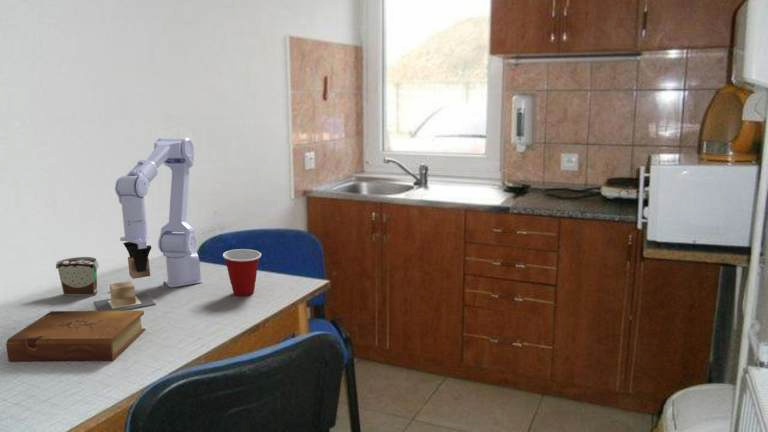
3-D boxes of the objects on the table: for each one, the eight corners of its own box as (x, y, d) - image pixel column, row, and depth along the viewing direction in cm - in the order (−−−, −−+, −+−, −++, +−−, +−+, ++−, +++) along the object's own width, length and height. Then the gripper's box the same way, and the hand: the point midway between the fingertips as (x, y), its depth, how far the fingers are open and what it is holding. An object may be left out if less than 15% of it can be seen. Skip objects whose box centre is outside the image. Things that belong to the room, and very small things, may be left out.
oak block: (132, 297, 181) (130, 280, 180) (135, 303, 176) (134, 285, 175) (111, 301, 178) (109, 284, 177) (114, 307, 173) (112, 289, 172)
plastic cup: (250, 301, 178) (247, 259, 175) (217, 296, 182) (214, 256, 179) (270, 289, 188) (268, 249, 185) (239, 285, 192) (237, 247, 189)
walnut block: (146, 272, 176) (145, 254, 176) (150, 276, 173) (148, 258, 172) (129, 275, 174) (127, 257, 173) (132, 278, 170) (130, 260, 169)
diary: (8, 365, 140) (5, 340, 138) (53, 333, 158) (50, 311, 157) (113, 363, 139) (110, 338, 138) (146, 331, 157) (143, 309, 156)
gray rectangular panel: (146, 293, 186) (146, 292, 186) (155, 304, 176) (155, 303, 176) (94, 302, 179) (94, 300, 179) (100, 314, 169) (100, 313, 169)
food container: (110, 289, 191) (106, 256, 189) (99, 295, 185) (95, 262, 183) (71, 288, 192) (67, 256, 190) (58, 294, 186) (54, 261, 184)
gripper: (113, 217, 174) (118, 265, 177) (124, 226, 162) (129, 278, 165) (140, 214, 178) (145, 261, 181) (152, 223, 166) (157, 273, 169)
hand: (139, 269), depth 173 cm, fingers closed on walnut block, 4 cm apart
